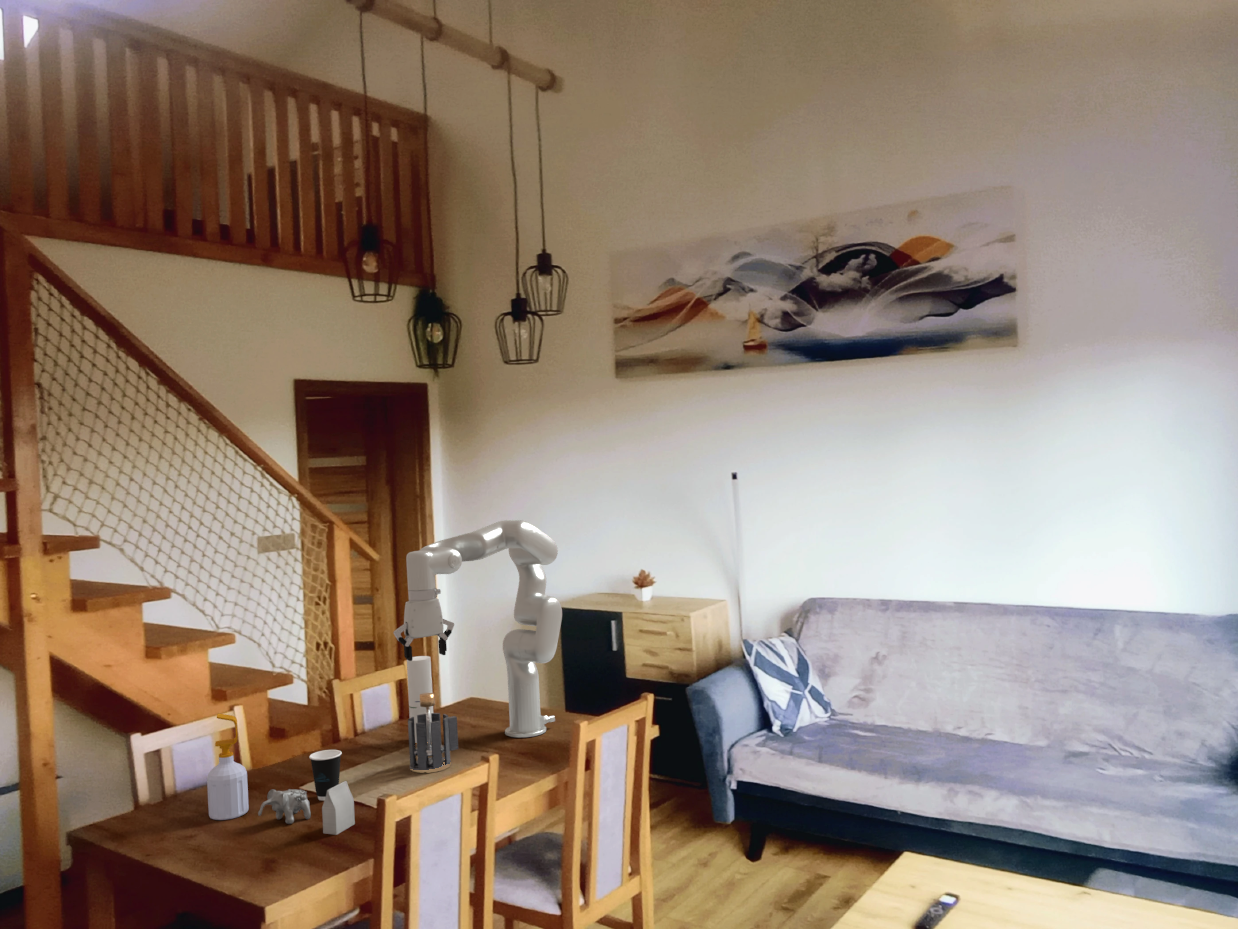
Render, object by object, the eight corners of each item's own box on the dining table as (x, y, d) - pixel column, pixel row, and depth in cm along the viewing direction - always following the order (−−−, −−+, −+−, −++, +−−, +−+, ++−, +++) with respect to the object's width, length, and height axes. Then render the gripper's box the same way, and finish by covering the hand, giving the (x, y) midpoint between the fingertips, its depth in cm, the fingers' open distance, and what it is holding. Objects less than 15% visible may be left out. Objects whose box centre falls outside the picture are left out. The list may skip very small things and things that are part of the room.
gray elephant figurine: (318, 816, 234) (317, 784, 234) (282, 832, 223) (281, 798, 223) (288, 813, 238) (288, 781, 238) (251, 828, 227) (251, 795, 227)
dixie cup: (339, 789, 252) (337, 747, 252) (347, 798, 245) (345, 754, 245) (308, 796, 248) (306, 753, 248) (315, 805, 241) (312, 760, 241)
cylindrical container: (431, 743, 291) (427, 660, 291) (408, 744, 292) (404, 661, 292) (436, 736, 298) (432, 655, 298) (413, 737, 299) (409, 656, 299)
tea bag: (354, 824, 227) (352, 781, 227) (336, 834, 221) (334, 791, 221) (341, 822, 228) (339, 780, 228) (323, 833, 222) (321, 789, 222)
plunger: (438, 745, 274) (435, 689, 274) (449, 752, 267) (447, 694, 267) (409, 751, 269) (407, 694, 269) (420, 758, 262) (417, 699, 262)
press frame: (450, 756, 277) (447, 709, 277) (465, 765, 268) (463, 716, 268) (404, 766, 270) (401, 717, 270) (418, 776, 260) (416, 726, 260)
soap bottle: (209, 811, 240) (204, 712, 240) (248, 805, 244) (244, 707, 244) (208, 823, 232) (202, 721, 232) (248, 816, 235) (243, 715, 235)
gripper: (446, 590, 276) (450, 650, 276) (387, 598, 267) (391, 660, 267) (456, 592, 269) (460, 654, 270) (396, 600, 260) (400, 664, 260)
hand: (426, 657), depth 268 cm, fingers open, 9 cm apart
